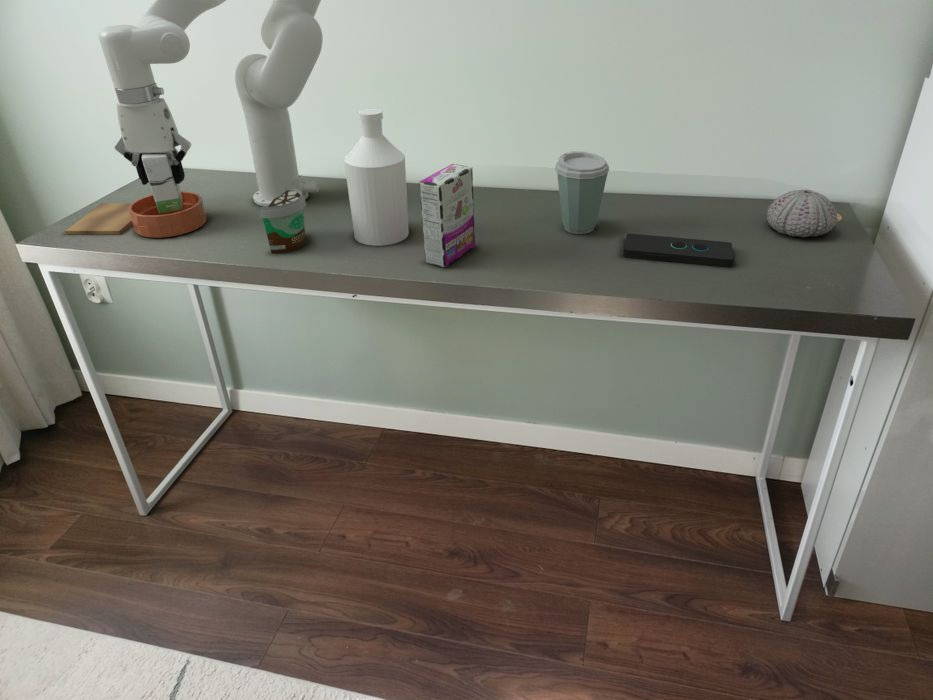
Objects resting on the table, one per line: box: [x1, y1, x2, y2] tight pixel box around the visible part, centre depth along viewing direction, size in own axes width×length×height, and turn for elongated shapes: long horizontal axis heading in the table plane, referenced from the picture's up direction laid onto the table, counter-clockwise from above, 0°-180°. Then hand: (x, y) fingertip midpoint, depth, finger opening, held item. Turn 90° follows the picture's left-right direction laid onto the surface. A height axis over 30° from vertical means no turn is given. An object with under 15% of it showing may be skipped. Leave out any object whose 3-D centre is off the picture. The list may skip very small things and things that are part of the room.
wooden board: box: [64, 202, 133, 235], centre depth 155 cm, size 12×16×1 cm
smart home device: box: [622, 233, 734, 268], centre depth 134 cm, size 8×2×20 cm
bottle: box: [343, 108, 410, 247], centre depth 139 cm, size 12×12×25 cm
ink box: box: [142, 153, 182, 214], centre depth 147 cm, size 9×5×12 cm, turn 19°
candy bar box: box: [418, 163, 476, 268], centre depth 132 cm, size 11×5×16 cm, turn 148°
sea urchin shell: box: [766, 189, 838, 239], centre depth 141 cm, size 13×14×8 cm
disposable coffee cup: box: [554, 151, 610, 235], centre depth 142 cm, size 11×11×15 cm
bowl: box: [128, 190, 208, 239], centre depth 151 cm, size 15×15×5 cm
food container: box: [259, 187, 307, 254], centre depth 140 cm, size 12×6×10 cm, turn 168°
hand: (163, 181), depth 147 cm, fingers closed on ink box, 6 cm apart
